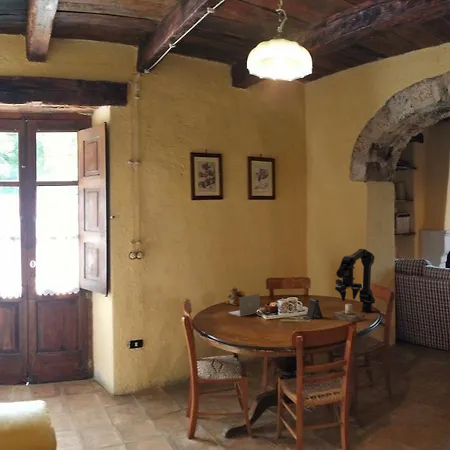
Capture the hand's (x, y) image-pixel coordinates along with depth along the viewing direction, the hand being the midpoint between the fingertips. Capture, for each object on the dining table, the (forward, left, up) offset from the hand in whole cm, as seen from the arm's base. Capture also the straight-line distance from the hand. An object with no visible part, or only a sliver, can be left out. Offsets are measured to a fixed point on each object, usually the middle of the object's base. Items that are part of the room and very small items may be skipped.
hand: (348, 300), depth 315 cm
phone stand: (+16, -15, -12) cm, 25 cm away
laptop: (+45, -53, -12) cm, 71 cm away
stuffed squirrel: (+34, -81, -12) cm, 88 cm away
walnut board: (0, 0, -12) cm, 12 cm away
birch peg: (0, 0, -12) cm, 12 cm away
